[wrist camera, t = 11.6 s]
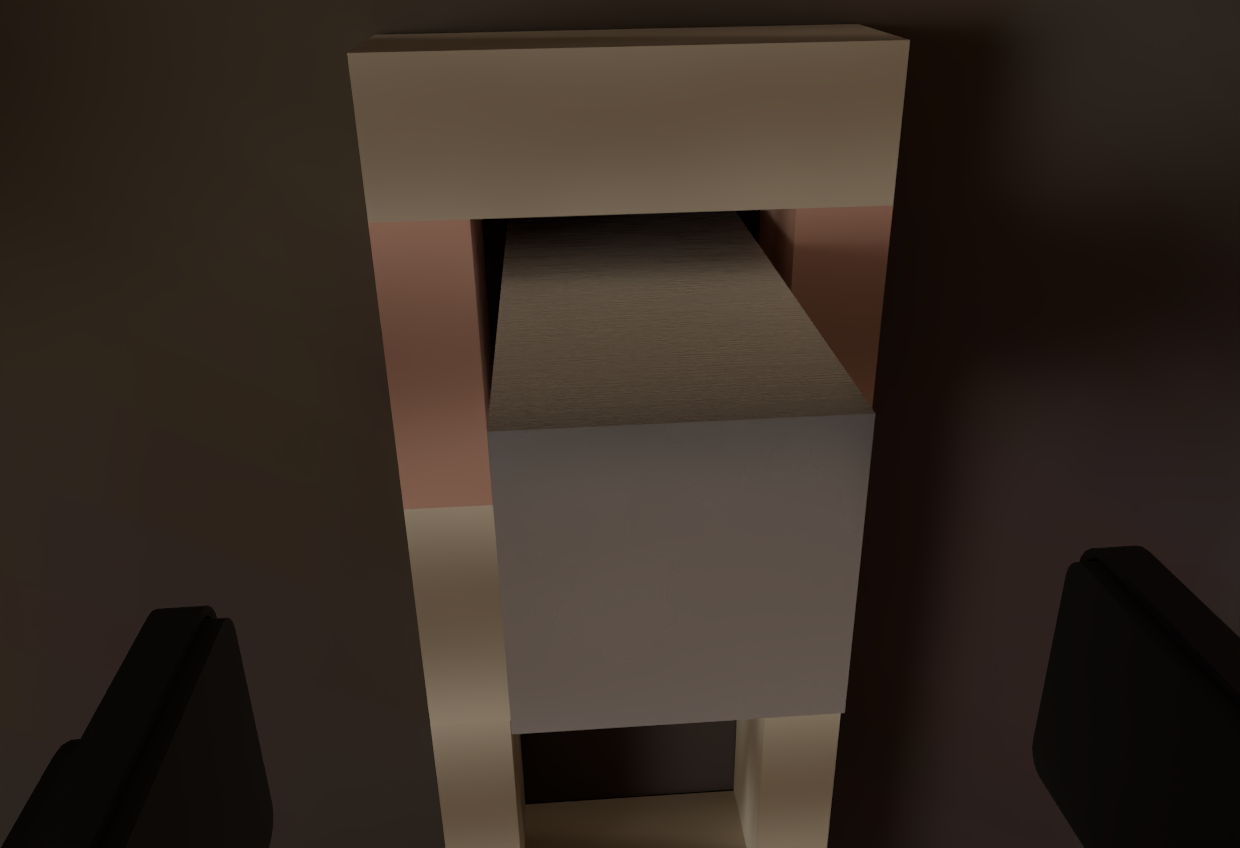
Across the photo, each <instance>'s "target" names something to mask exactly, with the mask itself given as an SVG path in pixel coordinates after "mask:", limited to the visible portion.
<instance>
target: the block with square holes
mask: <svg viewBox="0 0 1240 848" xmlns="http://www.w3.org/2000/svg"><path fill="white" fill-rule="evenodd" d="M909 46H910V40H908V39H905V38H902V37H899V36H895V35H892V34H889V33H886V32H882V31H879V30H876V29H873V28H869V27H866V26H863V25H860V24H835V25H790V26H745V27H700V28H655V29H610V30H565V31H520V32H475V33H430V34H385V35H373V36H372V37H370V38H369V39H367V40H366V41H364V42H363V43H361V44H360V45H359V46H357V47H356V48H354V49H353V50H351V51H350V52H348V53H347V55H348V63H349V71H350V79H351V87H352V95H353V103H354V111H355V119H356V128H357V136H358V144H359V152H360V160H361V168H362V176H363V184H364V192H365V200H366V208H367V216H368V224H369V232H370V240H371V249H372V257H373V265H374V273H375V281H376V289H377V297H378V305H379V313H380V321H381V329H382V337H383V345H384V353H385V361H386V369H387V378H388V386H389V394H390V402H391V410H392V418H393V426H394V434H395V442H396V450H397V458H398V466H399V474H400V482H401V490H402V499H403V507H404V515H405V523H406V531H407V539H408V547H409V555H410V563H411V571H412V579H413V587H414V595H415V603H416V611H417V619H418V628H419V636H420V644H421V652H422V660H423V668H424V676H425V684H426V692H427V700H428V708H429V716H430V724H431V732H432V740H433V749H434V757H435V765H436V773H437V781H438V789H439V797H440V805H441V813H442V821H443V829H444V837H445V845H446V848H827V842H828V832H829V822H830V812H831V803H832V793H833V783H834V774H835V764H836V754H837V745H838V735H839V725H840V715H841V713H837V714H822V715H806V716H791V717H775V718H759V719H744V720H737V729H736V751H735V772H734V791H722V792H707V793H692V794H677V795H662V796H647V797H631V798H616V799H601V800H586V801H571V802H556V803H541V804H526V805H525V791H524V778H523V764H522V751H521V738H520V734H512V731H511V718H510V706H509V694H508V682H507V670H506V658H505V645H504V633H503V621H502V609H501V597H500V585H499V572H498V560H497V548H496V536H495V524H494V512H493V499H492V487H491V475H490V463H489V451H488V439H487V426H488V416H489V406H490V396H491V385H492V375H493V362H492V349H491V335H490V322H489V309H488V295H487V282H486V268H485V255H484V242H483V228H482V219H495V218H525V217H556V216H586V215H617V214H647V213H677V212H708V211H738V210H760V228H759V246H760V247H761V249H762V250H763V252H764V253H765V255H766V256H767V258H768V259H769V260H770V262H771V263H772V265H773V266H774V268H775V269H776V271H777V272H778V273H779V275H780V276H781V278H782V279H783V281H784V282H785V284H786V285H787V286H788V288H789V289H790V291H791V292H792V294H793V295H794V297H795V298H796V299H797V301H798V302H799V304H800V305H801V307H802V308H803V310H804V311H805V312H806V314H807V315H808V317H809V318H810V320H811V321H812V323H813V324H814V325H815V327H816V328H817V330H818V331H819V333H820V334H821V336H822V337H823V338H824V340H825V341H826V343H827V344H828V346H829V347H830V349H831V350H832V351H833V353H834V354H835V356H836V357H837V359H838V360H839V362H840V363H841V364H842V366H843V367H844V369H845V370H846V372H847V373H848V375H849V376H850V377H851V379H852V380H853V382H854V383H855V385H856V386H857V388H858V389H859V390H860V392H861V393H862V395H863V396H864V398H865V399H866V401H867V402H868V403H869V405H870V406H871V408H872V405H873V395H874V386H875V376H876V366H877V356H878V347H879V337H880V327H881V318H882V308H883V298H884V288H885V279H886V269H887V259H888V250H889V240H890V230H891V221H892V211H893V201H894V191H895V182H896V172H897V162H898V153H899V143H900V133H901V124H902V114H903V104H904V94H905V85H906V75H907V65H908V56H909Z"/></svg>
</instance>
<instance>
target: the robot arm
mask: <svg viewBox="0 0 1240 848" xmlns="http://www.w3.org/2000/svg"><path fill="white" fill-rule="evenodd" d="M1032 750H1033V759H1034V764H1035V767H1036V770H1037V773H1038V775H1039V776H1040V778H1041V780H1042V782H1043V783H1044V785H1045V786H1046V788H1047V790H1048V791H1049V793H1050V794H1051V796H1052V797H1053V799H1054V801H1055V802H1056V804H1057V805H1058V807H1059V809H1060V810H1061V812H1062V813H1063V815H1064V817H1065V818H1066V820H1067V821H1068V823H1069V824H1070V826H1071V828H1072V829H1073V831H1074V832H1075V834H1076V836H1077V837H1078V839H1079V840H1080V842H1081V843H1082V845H1083V847H1084V848H1240V638H1239V637H1238V636H1237V635H1236V634H1235V633H1234V632H1233V631H1232V630H1231V629H1230V628H1229V627H1228V626H1227V625H1226V624H1225V623H1224V622H1223V621H1222V620H1221V619H1219V618H1218V617H1217V616H1216V615H1215V614H1214V613H1213V612H1212V611H1211V610H1210V609H1209V608H1208V607H1207V606H1206V605H1205V604H1204V603H1203V602H1202V601H1201V600H1200V599H1198V598H1197V597H1196V596H1195V595H1194V594H1193V593H1192V592H1191V591H1190V590H1189V589H1188V588H1187V587H1186V586H1185V585H1184V584H1183V583H1182V582H1181V581H1180V580H1179V579H1178V578H1176V577H1175V576H1174V575H1173V574H1172V573H1171V572H1170V571H1169V570H1168V569H1167V568H1166V567H1165V566H1164V565H1163V564H1162V563H1161V562H1160V561H1159V560H1158V559H1157V558H1155V557H1154V556H1153V555H1152V554H1151V553H1150V552H1149V551H1148V550H1146V549H1145V548H1143V547H1141V546H1122V547H1107V548H1091V549H1089V550H1087V551H1085V552H1084V554H1083V555H1082V557H1081V559H1080V562H1075V563H1073V564H1071V565H1070V566H1069V568H1068V570H1067V573H1066V577H1065V582H1064V587H1063V592H1062V597H1061V602H1060V608H1059V613H1058V618H1057V623H1056V628H1055V633H1054V638H1053V643H1052V648H1051V653H1050V658H1049V663H1048V668H1047V673H1046V678H1045V683H1044V688H1043V693H1042V698H1041V703H1040V708H1039V713H1038V718H1037V723H1036V728H1035V733H1034V739H1033V746H1032ZM272 829H273V807H272V800H271V796H270V791H269V786H268V782H267V777H266V772H265V767H264V763H263V758H262V753H261V749H260V744H259V739H258V734H257V730H256V725H255V720H254V716H253V711H252V706H251V701H250V697H249V692H248V687H247V683H246V678H245V673H244V668H243V664H242V659H241V654H240V650H239V645H238V640H237V635H236V631H235V627H234V624H233V622H232V620H231V619H229V618H218V619H217V617H216V613H215V612H214V610H213V608H212V607H210V606H195V607H179V608H164V609H156V610H153V611H152V612H151V613H150V615H149V616H148V617H147V619H146V621H145V623H144V625H143V627H142V628H141V630H140V632H139V634H138V636H137V637H136V639H135V641H134V643H133V645H132V646H131V648H130V650H129V652H128V654H127V656H126V657H125V659H124V661H123V663H122V665H121V666H120V668H119V670H118V672H117V674H116V675H115V677H114V679H113V681H112V683H111V685H110V686H109V688H108V690H107V692H106V694H105V695H104V697H103V699H102V701H101V703H100V705H99V706H98V708H97V710H96V712H95V714H94V715H93V717H92V719H91V721H90V723H89V724H88V726H87V728H86V730H85V732H84V734H83V735H82V737H81V739H76V740H70V741H68V742H67V743H65V744H63V745H62V746H61V747H60V748H59V750H58V751H57V752H56V754H55V755H54V756H53V758H52V760H51V761H50V763H49V765H48V767H47V768H46V770H45V772H44V773H43V775H42V777H41V779H40V780H39V782H38V784H37V786H36V787H35V789H34V791H33V793H32V794H31V796H30V798H29V800H28V801H27V803H26V805H25V807H24V808H23V810H22V812H21V814H20V815H19V817H18V819H17V821H16V822H15V824H14V826H13V828H12V829H11V831H10V833H9V835H8V836H7V838H6V840H5V842H4V843H3V845H2V847H1V848H269V845H270V841H271V836H272Z"/></svg>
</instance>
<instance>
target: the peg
mask: <svg viewBox="0 0 1240 848" xmlns="http://www.w3.org/2000/svg"><path fill="white" fill-rule="evenodd" d="M874 423H875V412H874V411H873V409H872V408H871V406H870V405H869V403H868V402H867V401H866V399H865V398H864V396H863V395H862V393H861V392H860V390H859V389H858V388H857V386H856V385H855V383H854V382H853V380H852V379H851V377H850V376H849V375H848V373H847V372H846V370H845V369H844V367H843V366H842V364H841V363H840V362H839V360H838V359H837V357H836V356H835V354H834V353H833V351H832V350H831V349H830V347H829V346H828V344H827V343H826V341H825V340H824V338H823V337H822V336H821V334H820V333H819V331H818V330H817V328H816V327H815V325H814V324H813V323H812V321H811V320H810V318H809V317H808V315H807V314H806V312H805V311H804V310H803V308H802V307H801V305H800V304H799V302H798V301H797V299H796V298H795V297H794V295H793V294H792V292H791V291H790V289H789V288H788V286H787V285H786V284H785V282H784V281H783V279H782V278H781V276H780V275H779V273H778V272H777V271H776V269H775V268H774V266H773V265H772V263H771V262H770V260H769V259H768V258H767V256H766V255H765V253H764V252H763V250H762V249H761V247H760V246H759V245H758V243H757V242H756V240H755V239H754V237H753V236H752V234H751V233H750V232H749V230H748V229H747V227H746V226H745V224H744V223H743V221H742V220H741V219H740V217H739V216H738V214H737V213H736V211H708V212H677V213H647V214H617V215H586V216H556V217H525V218H508V223H507V233H506V243H505V253H504V263H503V273H502V284H501V294H500V304H499V314H498V324H497V335H496V345H495V355H494V365H493V375H492V385H491V396H490V406H489V416H488V426H487V439H488V451H489V463H490V475H491V487H492V499H493V512H494V524H495V536H496V548H497V560H498V572H499V585H500V597H501V609H502V621H503V633H504V645H505V658H506V670H507V682H508V694H509V706H510V718H511V731H512V734H526V733H541V732H557V731H572V730H588V729H604V728H619V727H635V726H650V725H666V724H681V723H697V722H713V721H728V720H744V719H759V718H775V717H791V716H806V715H822V714H837V713H845V705H846V695H847V686H848V676H849V666H850V656H851V647H852V637H853V627H854V617H855V608H856V598H857V588H858V579H859V569H860V559H861V549H862V540H863V530H864V520H865V510H866V501H867V491H868V481H869V471H870V462H871V452H872V442H873V433H874Z"/></svg>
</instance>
